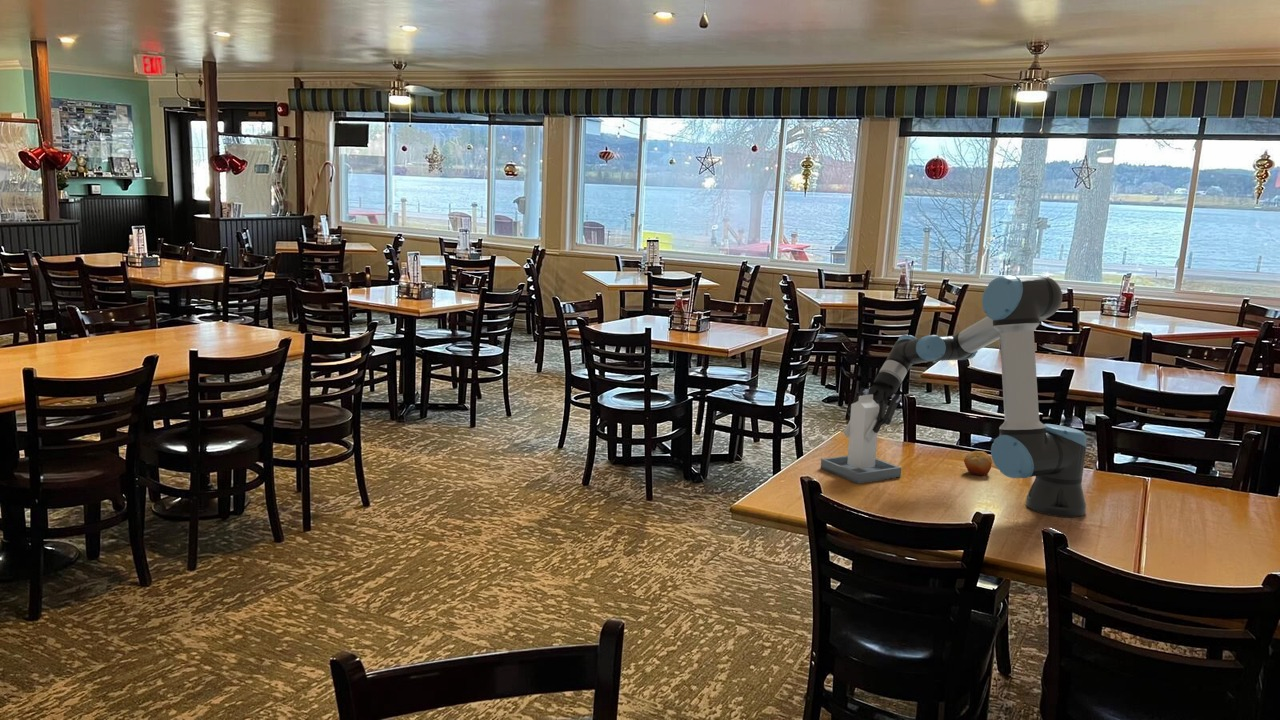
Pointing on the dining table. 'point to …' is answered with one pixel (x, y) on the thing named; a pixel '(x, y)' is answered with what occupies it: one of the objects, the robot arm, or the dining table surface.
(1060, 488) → the robot arm
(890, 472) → the tray
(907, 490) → the dining table surface
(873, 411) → the milk
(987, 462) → the fruit
